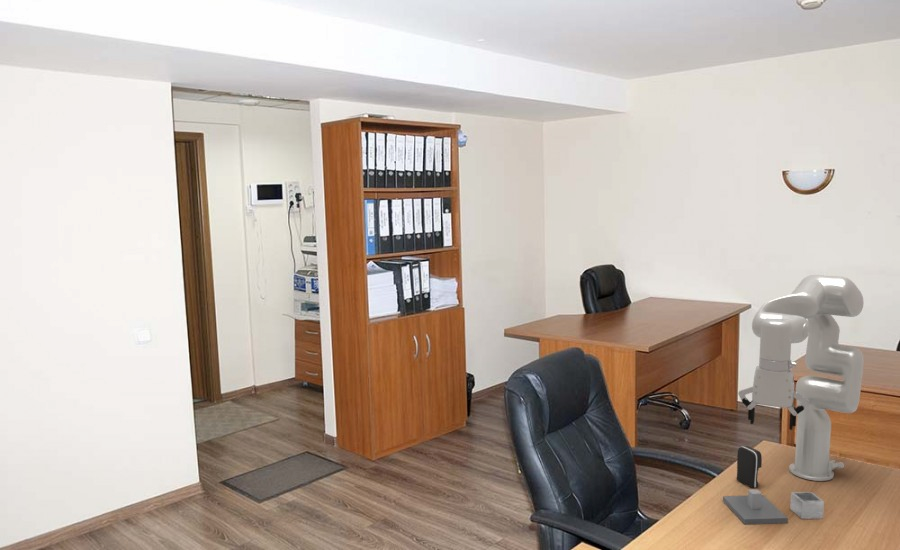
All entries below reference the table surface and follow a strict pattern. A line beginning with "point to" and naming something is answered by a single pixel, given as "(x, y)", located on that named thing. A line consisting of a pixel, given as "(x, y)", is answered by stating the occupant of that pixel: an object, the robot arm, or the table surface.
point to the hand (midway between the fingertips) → (771, 425)
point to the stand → (754, 509)
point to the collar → (807, 505)
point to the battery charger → (748, 465)
